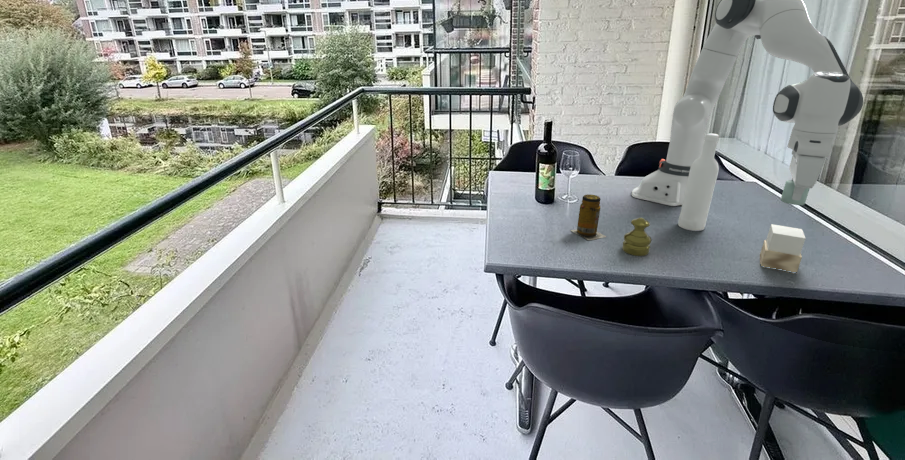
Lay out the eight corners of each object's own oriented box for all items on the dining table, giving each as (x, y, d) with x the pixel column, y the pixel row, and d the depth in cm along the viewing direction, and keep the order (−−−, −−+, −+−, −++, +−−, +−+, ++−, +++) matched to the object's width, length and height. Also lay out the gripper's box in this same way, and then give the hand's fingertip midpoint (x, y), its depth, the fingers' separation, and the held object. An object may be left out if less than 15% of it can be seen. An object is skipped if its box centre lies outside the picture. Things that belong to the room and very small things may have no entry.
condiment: (587, 227, 147) (592, 192, 143) (606, 237, 140) (612, 200, 136) (569, 231, 144) (574, 195, 140) (588, 241, 137) (593, 203, 133)
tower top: (767, 250, 121) (773, 232, 120) (765, 240, 127) (771, 224, 125) (799, 256, 118) (805, 238, 116) (796, 246, 124) (802, 229, 122)
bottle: (704, 224, 150) (727, 133, 138) (704, 233, 144) (727, 138, 132) (678, 220, 154) (698, 130, 142) (676, 228, 147) (697, 135, 136)
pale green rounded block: (781, 202, 117) (786, 184, 115) (779, 197, 121) (785, 179, 119) (805, 206, 115) (811, 187, 113) (803, 200, 119) (809, 182, 117)
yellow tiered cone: (653, 256, 128) (660, 223, 124) (628, 257, 128) (634, 223, 124) (641, 245, 135) (647, 213, 131) (617, 245, 134) (622, 214, 131)
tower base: (760, 267, 123) (765, 250, 121) (759, 255, 130) (764, 239, 128) (796, 274, 120) (802, 257, 118) (793, 262, 126) (799, 246, 124)
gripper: (792, 134, 122) (777, 183, 127) (798, 148, 105) (782, 204, 111) (821, 136, 119) (805, 187, 124) (833, 151, 102) (814, 209, 108)
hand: (794, 195), depth 117 cm, fingers closed on pale green rounded block, 5 cm apart
